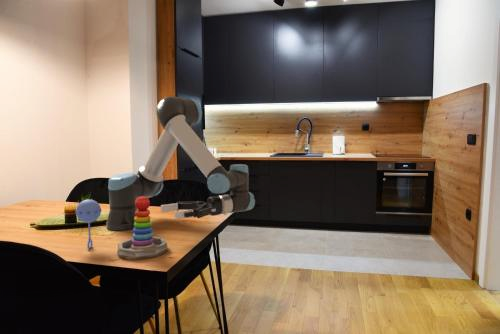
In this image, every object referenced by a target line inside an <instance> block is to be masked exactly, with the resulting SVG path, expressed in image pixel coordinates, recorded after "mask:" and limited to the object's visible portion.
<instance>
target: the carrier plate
mask: <svg viewBox="0 0 500 334" xmlns="http://www.w3.org/2000/svg"><path fill="white" fill-rule="evenodd" d="M132 239H133V237H132V238H128V239H126V240H124V241H122V242H119V243H117V251H116V252H117V257H118V256H119V257H118V258H120V257H121V258H120V259H122V258H124V259H123V260H127V259H132V260H131V261H141V259H143V260H148V258H150V259H153V257H154V258H158V257H160V256H162V254H163V255H164V254H166V253H167V252H168V241H166V239H165V238H164V237H159V236H153V239H154V241H153V243H154V244H155V246H154V248H148V249H141V250H132V248H131V245H132ZM157 256H158V257H157Z"/></svg>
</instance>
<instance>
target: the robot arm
mask: <svg viewBox="0 0 500 334" xmlns="http://www.w3.org/2000/svg"><path fill="white" fill-rule="evenodd" d="M156 106H157V107H156V111H155V112H156V117H157V120H158V122H159V124H160V126H161V127H162V128H163V130H162V132H161V134H160V135H159V138H158V139H157V141H156V144H155V145H154V148H153V149H152V152H151V153H150V155H149V157H148V159H147V161H146V163H145V165H142V166H140V167H139V168H138V171H137V173H136V174H135V173H134V172H125V173H124V172H123V173H117V174H114V175H112V176H111V177H109V178H108V186H107V188H108V198H109V199H108V201H109V212H108V213H109V214H107V220H106V222H105V223H106V224H105V225H106V226H105V227H106V229H107V230H109V231H129V230H133V229H134V227H135V226H134V223H135V222H136V221H135V220H134V218H135V217H136V215H135V212H136V211H137V210H138V209H137V208H136V206H135V201H136V199H137V198H138V197H141V196H145V197H147V198H148V199H150V198H153V197H156V196H158V195H159V194H160V193H161V192H162V190H163V188H164V183H163V182H164V176H163V172H164V170H165V169H166V167H167V165H168V163H169V162H170V159H171V157H172V156H173V154H174V152H175V150H176V149H177V147H178V144H179V145H180V147H181V148H182V149H183V150H184V151H185V153H186V154H187V155H188V156H189V157H190V159H191V160H192V162H193V163H194V164H195V165H196V166H197V168H198V169H199V170H200V171H201V173H202V174H203V175H204V177H206V179H207V182H206V183H207V189H208V190H209V191H210V192H211V193H212V194H216V196H215V195H214V196H209V197H208V198H207V199H206V202H205V201H201V200H196V201H176V203H170V204H169V203H168V204H161V205H160V212H161V213H168V212H174V220H183V219H189V218H190V219H191V218H197V219H200V218H204V217H207V216H211V217H214V216H219V215H224V216H226V215H227V214H232V213H240V212H246V211H250V210H253V208H254V207H255V205H256V204H255V203H256V199H255V195H254V194H253V193H252V192H250V191H249V175H250V174H249V166H248V165H247V164H243V163H242V164H241V163H237V164H235V163H234V164H230V166H229V170H228V171H227V170H226V169H225V168H224V166H222V164H221V163H220V162H219V160H218V159H217V158H216V157H215V155H213V153H212V152H211V151H210V150H209V148H208V147H207V146H206V145H205V144H204V142H203V141H202V140H201V138H200V137H199V136H198V134H197V133H196V132H195V131H194V130H193V129H192V127H193V126H195V125H197V124H199V123H200V122H201V119H202V116H203V111H202V106H201V105H200V103H199V102H198V101H197V100H196V99H193V98H190V97H178V96H171V95H170V96H166V97H163V98H162V99H161V100H160V101H159V103H158V104H157V105H156ZM227 192H230V194H226V193H227ZM218 194H222V195H218Z"/></svg>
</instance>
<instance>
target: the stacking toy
mask: <svg viewBox="0 0 500 334" xmlns="http://www.w3.org/2000/svg"><path fill="white" fill-rule="evenodd" d="M150 205H151V202H150V198H147V197H145V196H141V197H138V198H137V199H136V201H135V206H136V208H137V209H138V210H137V211H136V212H135V215H136V217H135V218H134V220H135V221H136V222H135V223H134V226H135V227H134V229H132V232H133V233H132V238H133V239H132V245H131V248H132V250H141V249H148V248H154V246H155V244H154V243H153V241H154V239H153V237H154V233H153V227H152V224H153V223H152V221H151V216H150V214H151V211H150V209H149V208H150Z"/></svg>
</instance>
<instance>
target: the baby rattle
mask: <svg viewBox="0 0 500 334" xmlns="http://www.w3.org/2000/svg"><path fill="white" fill-rule="evenodd" d="M101 214H102V207H101V205H100V204H99V203H98V201H96V200H94V199H91V198H90V199H85V200H82V201H80V202H79V203H78V204H77V205H76V208H75V215H76V217H77V219H78V220H79V221H81V222H83V223H87V224H88V225H87V226H88V230H87V231H88V239H87V245H86V247H87V250H90V249H92V248H93V240H92V238H91V237H92V236H91V223H93V222H96V220H98V219H99V217H100V216H101Z"/></svg>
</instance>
